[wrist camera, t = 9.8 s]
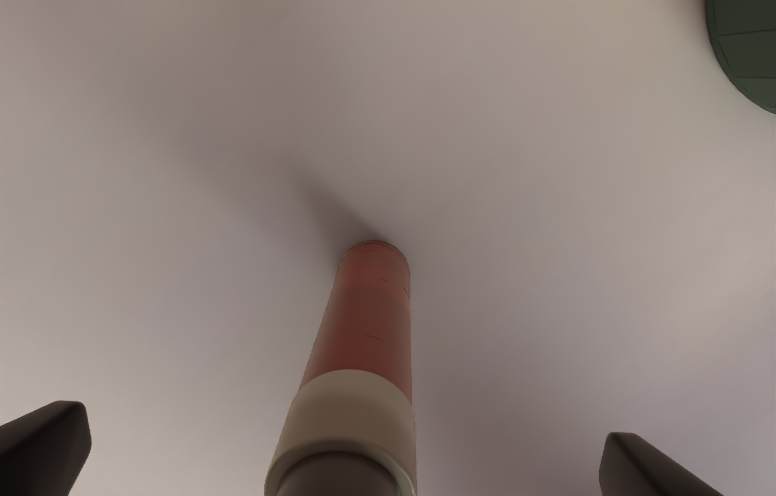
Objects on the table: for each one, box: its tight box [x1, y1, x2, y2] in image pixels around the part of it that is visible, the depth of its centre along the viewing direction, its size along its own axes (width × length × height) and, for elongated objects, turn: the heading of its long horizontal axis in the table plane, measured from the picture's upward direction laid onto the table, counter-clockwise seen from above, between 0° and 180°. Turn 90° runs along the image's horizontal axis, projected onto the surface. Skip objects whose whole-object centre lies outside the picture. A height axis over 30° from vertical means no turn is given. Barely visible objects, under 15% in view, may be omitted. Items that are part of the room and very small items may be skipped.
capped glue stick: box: [264, 241, 417, 496], centre depth 11 cm, size 2×2×11 cm
